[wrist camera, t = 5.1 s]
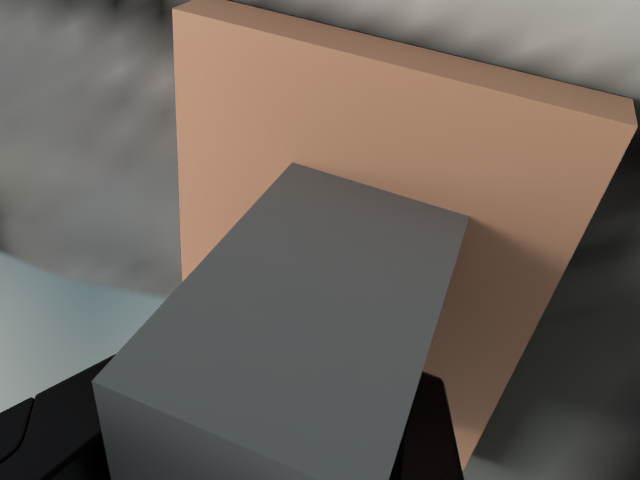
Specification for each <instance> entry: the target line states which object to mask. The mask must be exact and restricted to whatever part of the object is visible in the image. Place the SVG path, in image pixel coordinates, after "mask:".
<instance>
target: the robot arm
mask: <svg viewBox="0 0 640 480" xmlns="http://www.w3.org/2000/svg"><path fill="white" fill-rule="evenodd" d="M115 355H116V354H115ZM115 355H113V356H111V357H109V358H107V359H105V360H103V361H101V362H99V363H97V364H95V365H93V366H91V367H89V368H87V369H85V370H84V371H82V372H80V373H78V374H76V375H74V376H72V377H70V378H68V379H66V380H64V381H62V382H60V383H58V384H56V385H54V386H52V387H50V388H48V389H47V390H45V391H43V392H41V393H39V394H37V395H36V396H35V399H34V398H32V397H31V398H29V399H27V400H25V401H23V402H21V403H19V404H17V405H15V406H13V407H11V408H9V409H7V410H5V411H3V412H1V413H0V480H111V477H110V472H109V467H108V462H107V457H106V452H105V447H104V441H103V436H102V431H101V426H100V421H99V416H98V411H97V406H96V401H95V396H94V390H93V385H92V380H93V379H94V378H95V377H96V376H97V375H98V374H99V373H100V371H101V370H102V369H103V368H104V367H105V366H106V365H107V364H108V363H109V362H110V361H111V359H112V358H113V357H114V356H115ZM389 480H464V477H463V472H462V467H461V462H460V457H459V452H458V448H457V443H456V438H455V433H454V428H453V423H452V418H451V413H450V408H449V404H448V399H447V394H446V389H445V384H444V382H443V380H442V379H441V378H440V377H437V376H435V375H432V374H429V373H426V372H424V371H422V374H421V377H420V380H419V383H418V387H417V390H416V393H415V396H414V399H413V403H412V406H411V409H410V412H409V416H408V419H407V422H406V425H405V429H404V432H403V435H402V438H401V442H400V445H399V448H398V451H397V455H396V458H395V461H394V464H393V468H392V471H391V474H390V477H389Z"/></svg>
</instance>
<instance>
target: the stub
mask: <svg viewBox="0 0 640 480" xmlns="http://www.w3.org/2000/svg"><path fill="white" fill-rule="evenodd" d="M172 16H173V43H174V70H175V97H176V124H177V151H178V178H179V205H180V233H181V260H182V283H181V284H180V285H179V286H178V287H177V288H176V290H175V291H174V292H173V293H172V294H171V295H170V296H169V297H168V298H167V299H166V301H165V302H164V303H163V304H162V305H161V306H160V307H159V308H158V309H157V310H156V311H155V313H154V314H153V315H152V316H151V317H150V318H149V319H148V320H147V321H146V322H145V324H144V325H143V326H142V327H141V328H140V329H139V330H138V331H137V332H136V333H135V334H134V336H133V337H132V338H131V339H130V340H129V341H128V342H127V343H126V344H125V345H124V346H123V348H122V349H121V350H120V351H119V352H118V353H117V354H116V355H115V356H114V357H113V358H112V359H111V361H110V362H109V363H108V364H107V365H106V366H105V367H104V368H103V369H102V370H101V371H100V373H99V374H98V375H97V376H96V377H95V378H94V379H93V380H92V385H93V390H94V396H95V401H96V406H97V411H98V416H99V421H100V426H101V431H102V436H103V441H104V447H105V452H106V457H107V462H108V467H109V472H110V477H111V480H389V477H390V474H391V471H392V468H393V464H394V461H395V458H396V455H397V451H398V448H399V445H400V442H401V438H402V435H403V432H404V429H405V425H406V422H407V419H408V416H409V412H410V409H411V406H412V403H413V399H414V396H415V393H416V390H417V387H418V383H419V380H420V377H421V374H422V371H424V372H426V373H429V374H432V375H435V376H437V377H440V378H441V379H442V380H443V382H444V384H445V389H446V394H447V399H448V404H449V408H450V413H451V418H452V423H453V428H454V433H455V438H456V443H457V448H458V452H459V457H460V462H461V467H462V472H463V470H464V468H465V466H466V464H467V462H468V460H469V458H470V456H471V454H472V452H473V450H474V449H475V447H476V445H477V443H478V441H479V439H480V437H481V435H482V433H483V431H484V429H485V427H486V425H487V423H488V421H489V419H490V417H491V415H492V413H493V411H494V409H495V407H496V405H497V403H498V401H499V399H500V397H501V395H502V393H503V391H504V389H505V387H506V385H507V383H508V382H509V380H510V378H511V376H512V374H513V372H514V370H515V368H516V366H517V364H518V362H519V360H520V358H521V356H522V354H523V352H524V350H525V348H526V346H527V344H528V342H529V340H530V338H531V336H532V334H533V332H534V330H535V328H536V326H537V324H538V322H539V320H540V318H541V317H542V315H543V313H544V311H545V309H546V307H547V305H548V303H549V301H550V299H551V297H552V295H553V293H554V291H555V289H556V287H557V285H558V283H559V281H560V279H561V277H562V275H563V273H564V271H565V269H566V267H567V265H568V263H569V261H570V259H571V257H572V255H573V253H574V251H575V250H576V248H577V246H578V244H579V242H580V240H581V238H582V236H583V234H584V232H585V230H586V228H587V226H588V224H589V222H590V220H591V218H592V216H593V214H594V212H595V210H596V208H597V206H598V204H599V202H600V200H601V198H602V196H603V194H604V192H605V190H606V188H607V186H608V184H609V183H610V181H611V179H612V177H613V175H614V173H615V171H616V169H617V167H618V165H619V163H620V161H621V159H622V157H623V155H624V153H625V151H626V149H627V147H628V145H629V143H630V141H631V139H632V137H633V135H634V133H635V131H636V129H637V127H638V124H637V119H636V114H635V108H634V103H633V99H630V98H626V97H622V96H617V95H613V94H609V93H605V92H601V91H597V90H593V89H589V88H585V87H581V86H576V85H572V84H568V83H564V82H560V81H556V80H552V79H548V78H544V77H540V76H535V75H531V74H527V73H523V72H519V71H515V70H511V69H507V68H503V67H499V66H494V65H490V64H486V63H482V62H478V61H474V60H470V59H466V58H462V57H458V56H453V55H449V54H445V53H441V52H437V51H433V50H429V49H425V48H421V47H417V46H412V45H408V44H404V43H400V42H396V41H392V40H388V39H384V38H380V37H376V36H371V35H367V34H363V33H359V32H355V31H351V30H347V29H343V28H339V27H335V26H330V25H326V24H322V23H318V22H314V21H310V20H306V19H302V18H298V17H294V16H289V15H285V14H281V13H277V12H273V11H269V10H265V9H261V8H257V7H253V6H248V5H244V4H240V3H236V2H232V1H228V0H192V1H190V2H187V3H185V4H182V5H180V6H177V7H175V8H172Z"/></svg>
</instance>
